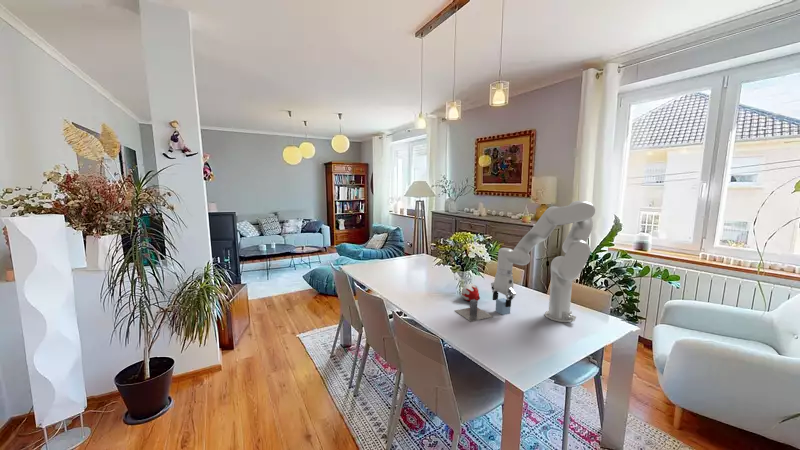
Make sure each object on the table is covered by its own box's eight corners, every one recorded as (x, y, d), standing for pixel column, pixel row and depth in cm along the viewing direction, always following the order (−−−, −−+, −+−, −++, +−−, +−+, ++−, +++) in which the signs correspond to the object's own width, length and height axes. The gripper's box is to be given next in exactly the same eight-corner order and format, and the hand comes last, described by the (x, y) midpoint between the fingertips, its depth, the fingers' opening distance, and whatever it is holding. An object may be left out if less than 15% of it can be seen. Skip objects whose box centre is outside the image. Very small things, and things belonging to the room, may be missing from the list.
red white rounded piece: (471, 293, 188) (486, 305, 174) (455, 295, 184) (469, 307, 170) (472, 280, 186) (488, 290, 172) (456, 281, 182) (471, 293, 168)
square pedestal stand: (493, 317, 155) (493, 303, 154) (470, 321, 150) (471, 307, 149) (475, 307, 168) (476, 294, 167) (454, 311, 162) (454, 297, 162)
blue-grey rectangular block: (510, 313, 160) (510, 301, 160) (502, 314, 158) (503, 302, 157) (503, 309, 165) (503, 298, 164) (495, 311, 163) (496, 299, 162)
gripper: (522, 276, 153) (519, 308, 155) (498, 266, 168) (495, 296, 171) (510, 277, 150) (507, 310, 152) (487, 267, 165) (485, 298, 168)
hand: (501, 303), depth 161 cm, fingers open, 9 cm apart
